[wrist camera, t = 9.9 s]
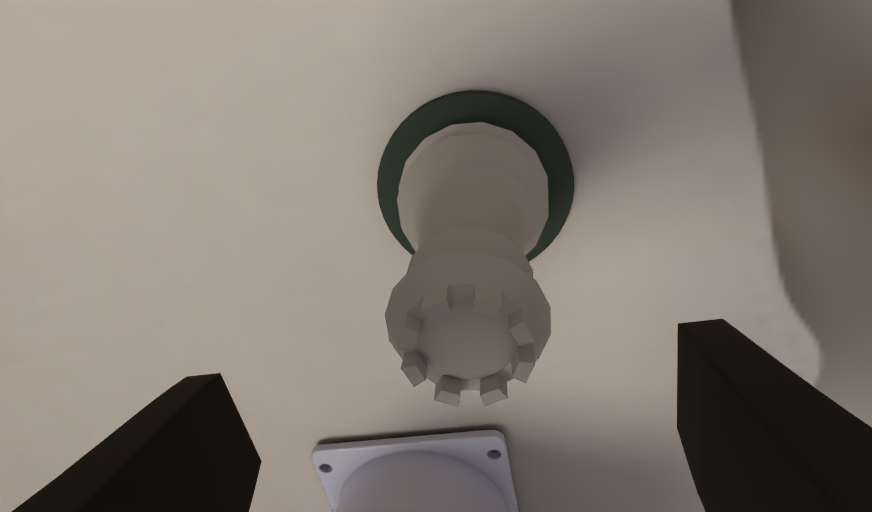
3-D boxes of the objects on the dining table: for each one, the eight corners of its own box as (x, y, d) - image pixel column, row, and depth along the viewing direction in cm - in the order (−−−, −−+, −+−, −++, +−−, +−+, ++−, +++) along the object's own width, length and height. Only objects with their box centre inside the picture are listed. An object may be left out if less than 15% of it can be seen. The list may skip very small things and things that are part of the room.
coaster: (579, 258, 19) (581, 264, 18) (402, 281, 20) (400, 287, 19) (563, 72, 16) (565, 75, 16) (357, 110, 17) (354, 113, 17)
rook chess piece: (426, 267, 19) (391, 459, 12) (379, 141, 17) (305, 280, 10) (561, 235, 18) (610, 423, 11) (528, 97, 16) (564, 218, 9)
